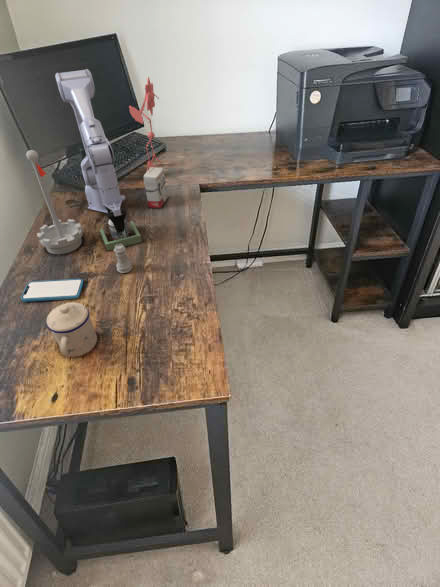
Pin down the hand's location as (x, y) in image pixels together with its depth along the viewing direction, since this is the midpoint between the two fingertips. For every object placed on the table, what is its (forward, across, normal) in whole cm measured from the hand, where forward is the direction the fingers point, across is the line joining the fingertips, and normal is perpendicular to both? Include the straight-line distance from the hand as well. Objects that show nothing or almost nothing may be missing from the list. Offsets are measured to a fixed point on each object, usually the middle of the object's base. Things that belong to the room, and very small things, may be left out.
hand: (117, 225), depth 121 cm
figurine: (+5, +42, -28) cm, 51 cm away
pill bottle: (+5, 0, 0) cm, 5 cm away
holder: (+4, 0, 0) cm, 4 cm away
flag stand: (+5, +5, +17) cm, 18 cm away
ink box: (+5, +17, -18) cm, 25 cm away
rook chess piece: (+4, -17, +3) cm, 18 cm away
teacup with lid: (+4, -42, +20) cm, 47 cm away
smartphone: (+4, -18, +23) cm, 30 cm away
